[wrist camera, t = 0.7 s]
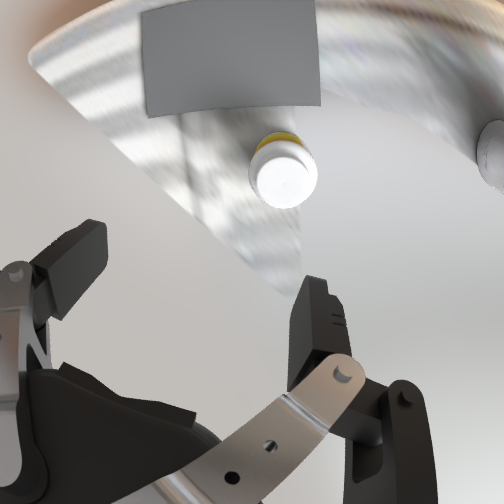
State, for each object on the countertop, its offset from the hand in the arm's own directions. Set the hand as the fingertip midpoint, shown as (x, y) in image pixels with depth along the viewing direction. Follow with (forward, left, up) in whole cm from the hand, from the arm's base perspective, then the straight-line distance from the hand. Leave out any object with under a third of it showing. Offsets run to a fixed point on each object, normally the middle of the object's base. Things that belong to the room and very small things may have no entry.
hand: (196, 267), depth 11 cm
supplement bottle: (-3, 0, -22) cm, 22 cm away
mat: (+2, -12, -22) cm, 25 cm away
